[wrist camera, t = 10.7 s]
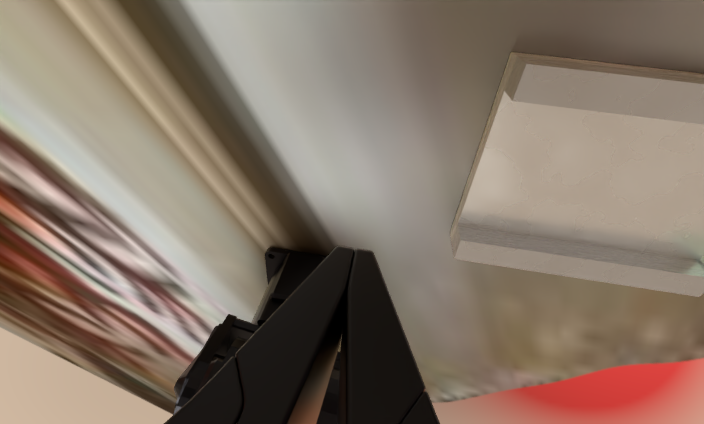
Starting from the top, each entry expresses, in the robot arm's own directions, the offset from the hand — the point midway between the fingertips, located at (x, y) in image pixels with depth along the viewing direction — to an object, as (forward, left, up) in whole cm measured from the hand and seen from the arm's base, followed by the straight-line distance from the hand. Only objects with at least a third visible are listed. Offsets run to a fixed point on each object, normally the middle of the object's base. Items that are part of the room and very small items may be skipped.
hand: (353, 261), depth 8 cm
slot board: (-3, -12, -12) cm, 18 cm away
